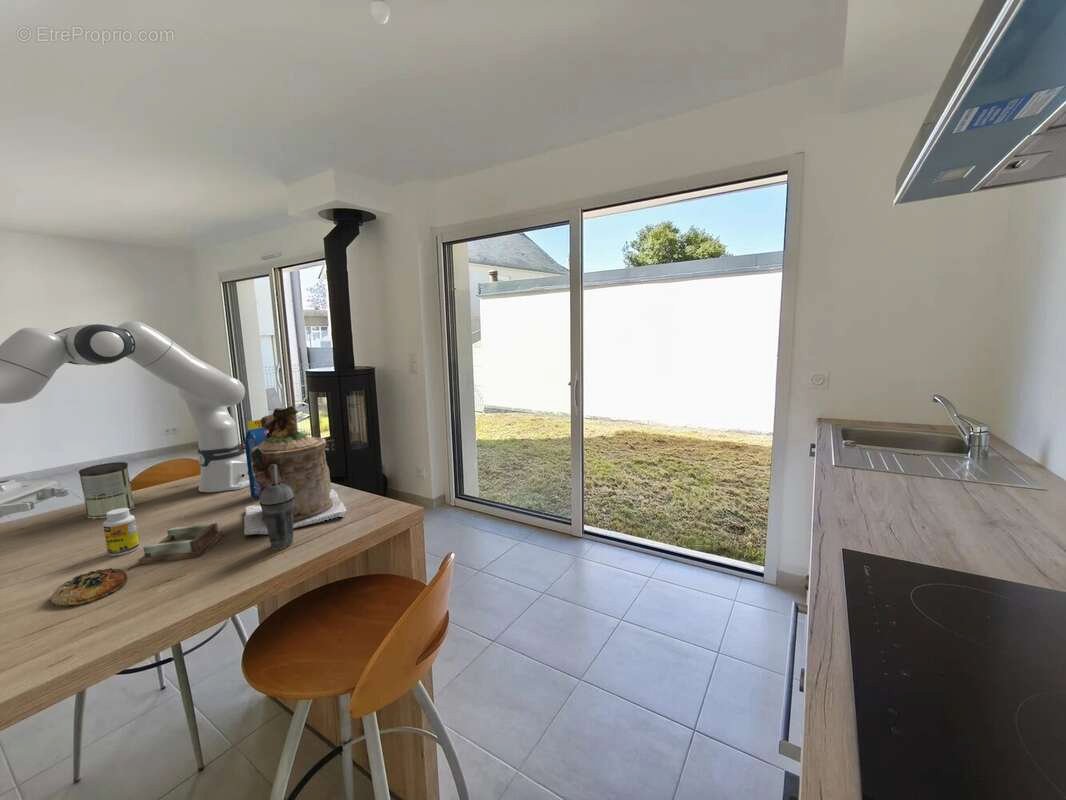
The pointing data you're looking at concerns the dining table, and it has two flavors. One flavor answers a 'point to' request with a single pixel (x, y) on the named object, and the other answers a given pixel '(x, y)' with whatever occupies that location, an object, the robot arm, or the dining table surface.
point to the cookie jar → (293, 473)
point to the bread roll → (89, 587)
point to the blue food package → (251, 440)
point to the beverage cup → (278, 513)
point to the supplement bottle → (120, 532)
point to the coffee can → (106, 488)
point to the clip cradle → (182, 543)
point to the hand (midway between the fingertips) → (49, 498)
